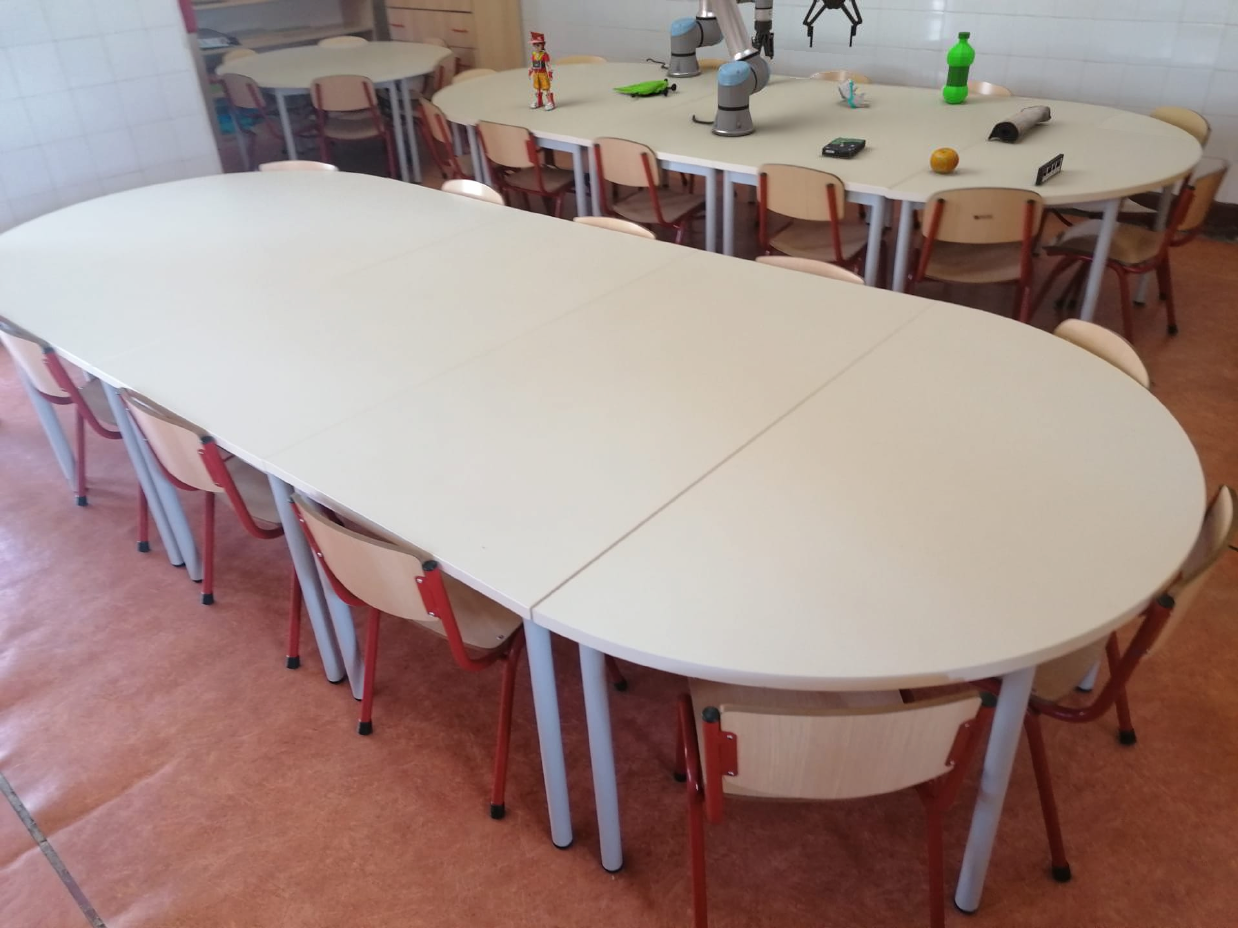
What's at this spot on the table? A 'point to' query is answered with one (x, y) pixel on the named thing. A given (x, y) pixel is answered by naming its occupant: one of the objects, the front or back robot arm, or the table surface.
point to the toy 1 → (541, 71)
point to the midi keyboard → (1049, 169)
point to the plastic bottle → (958, 69)
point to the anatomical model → (851, 94)
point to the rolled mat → (1020, 123)
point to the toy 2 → (648, 88)
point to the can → (766, 59)
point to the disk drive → (843, 147)
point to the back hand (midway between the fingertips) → (761, 77)
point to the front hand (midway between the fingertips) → (830, 47)
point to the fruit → (944, 160)
